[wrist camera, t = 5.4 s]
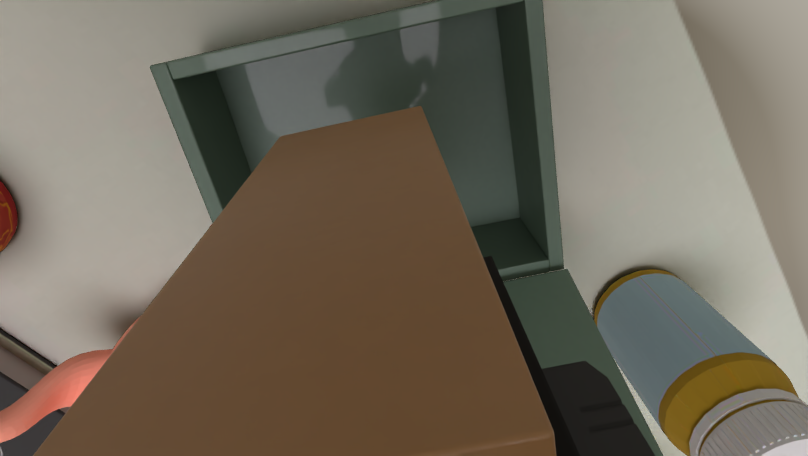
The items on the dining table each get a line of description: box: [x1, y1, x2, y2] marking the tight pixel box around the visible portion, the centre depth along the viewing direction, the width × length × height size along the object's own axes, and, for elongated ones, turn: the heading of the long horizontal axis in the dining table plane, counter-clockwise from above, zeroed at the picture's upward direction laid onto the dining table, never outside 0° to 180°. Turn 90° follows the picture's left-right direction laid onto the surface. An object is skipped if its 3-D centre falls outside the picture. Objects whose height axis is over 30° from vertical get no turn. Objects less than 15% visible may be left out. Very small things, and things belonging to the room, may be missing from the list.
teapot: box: [0, 316, 141, 443], centre depth 31 cm, size 13×20×12 cm, turn 61°
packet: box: [33, 106, 556, 456], centre depth 12 cm, size 8×5×14 cm, turn 12°
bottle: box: [594, 269, 808, 456], centre depth 29 cm, size 7×7×15 cm
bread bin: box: [150, 0, 564, 281], centre depth 27 cm, size 15×18×7 cm
